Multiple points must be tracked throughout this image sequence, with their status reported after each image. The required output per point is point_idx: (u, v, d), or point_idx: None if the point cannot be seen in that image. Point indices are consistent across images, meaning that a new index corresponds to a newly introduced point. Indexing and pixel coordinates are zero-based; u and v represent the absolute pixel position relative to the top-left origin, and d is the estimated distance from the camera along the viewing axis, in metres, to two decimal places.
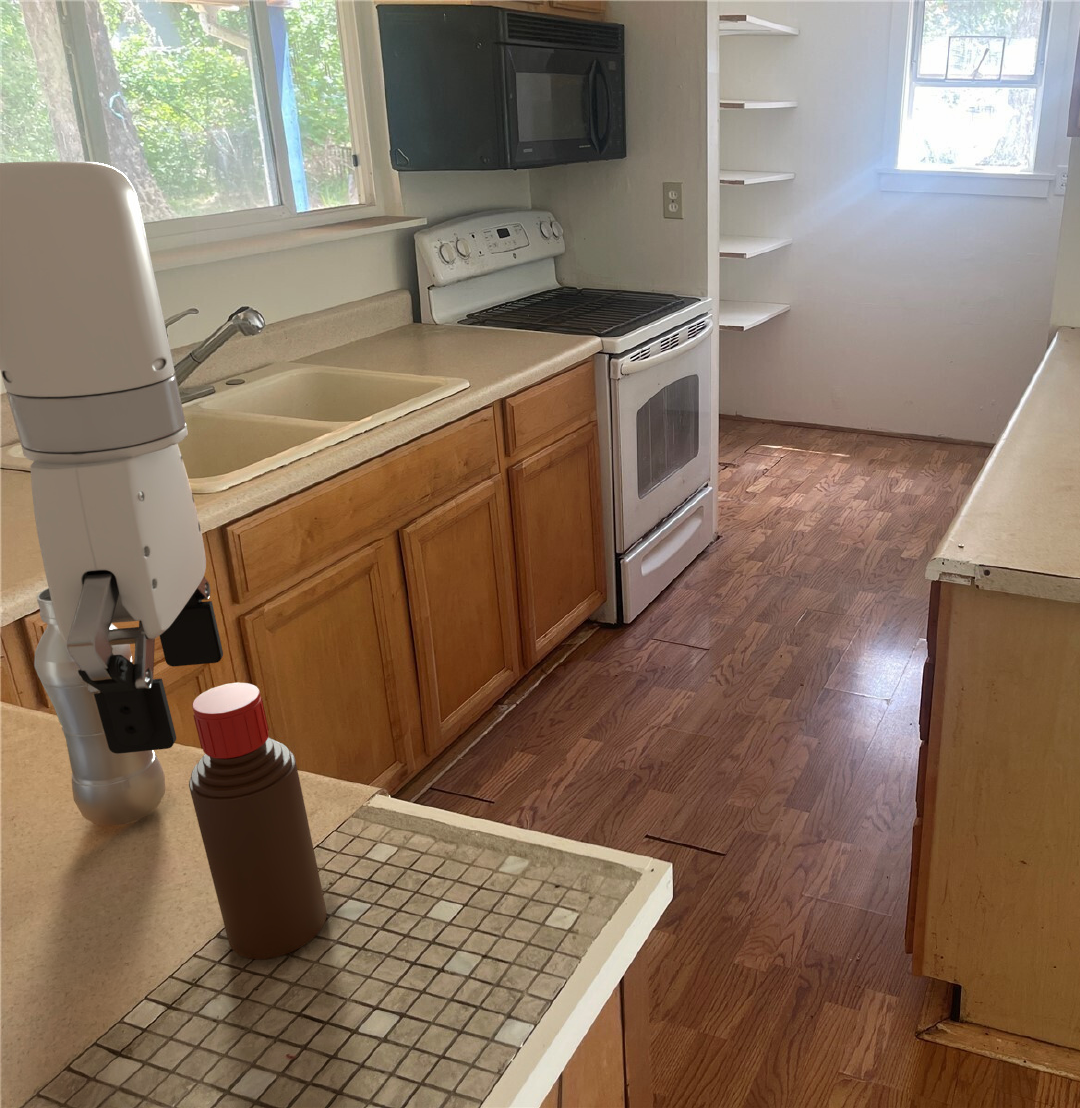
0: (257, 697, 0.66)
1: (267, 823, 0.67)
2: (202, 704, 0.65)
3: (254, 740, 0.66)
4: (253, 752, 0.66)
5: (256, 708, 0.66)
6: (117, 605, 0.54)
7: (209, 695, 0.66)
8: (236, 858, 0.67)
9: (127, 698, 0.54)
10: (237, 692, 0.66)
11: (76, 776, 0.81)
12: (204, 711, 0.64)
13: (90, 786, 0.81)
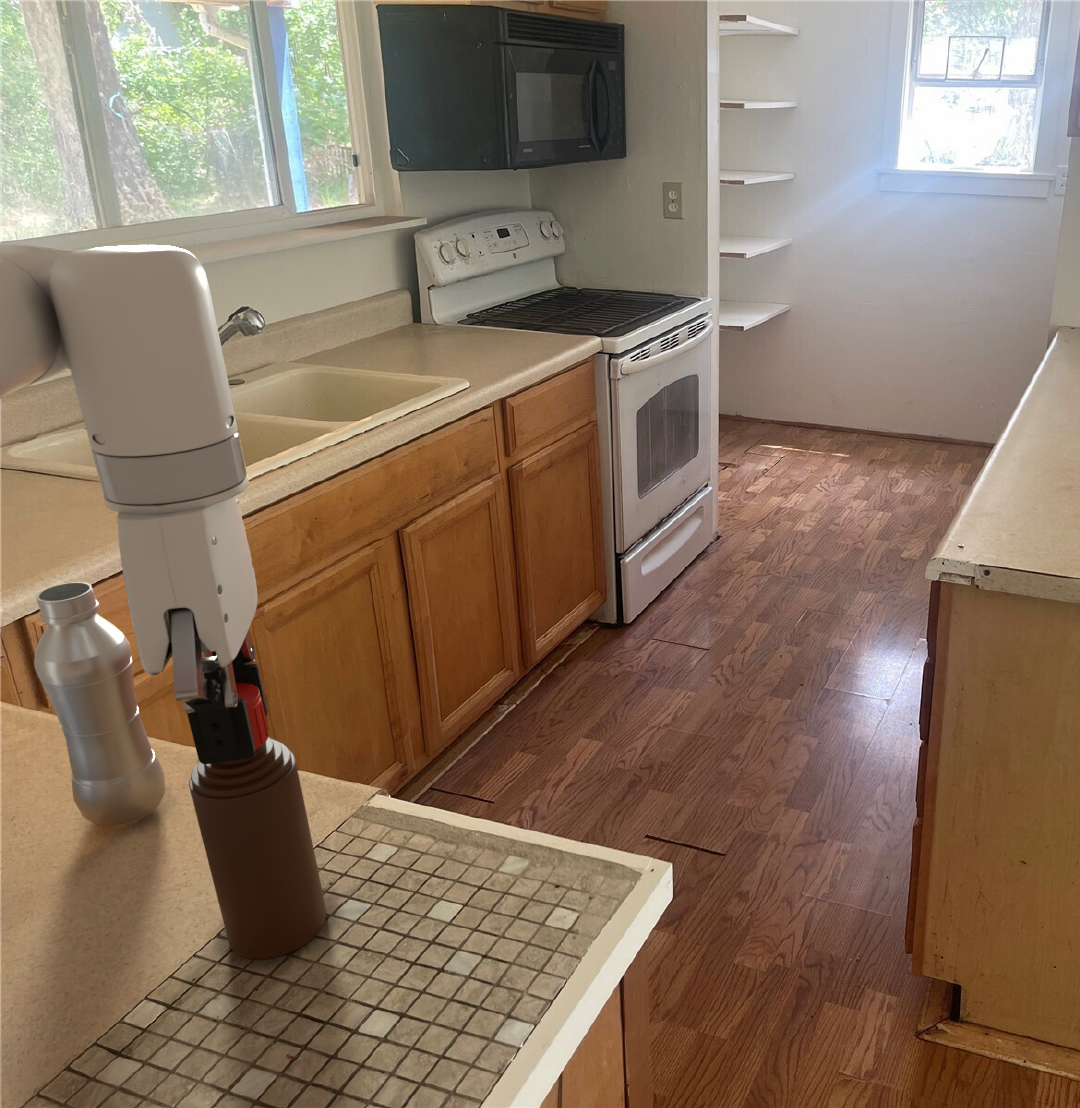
0: (257, 697, 0.66)
1: (267, 823, 0.67)
2: None
3: (254, 740, 0.66)
4: None
5: (256, 708, 0.66)
6: None
7: None
8: (236, 858, 0.67)
9: (217, 716, 0.63)
10: (237, 692, 0.66)
11: (76, 776, 0.81)
12: None
13: (90, 786, 0.81)
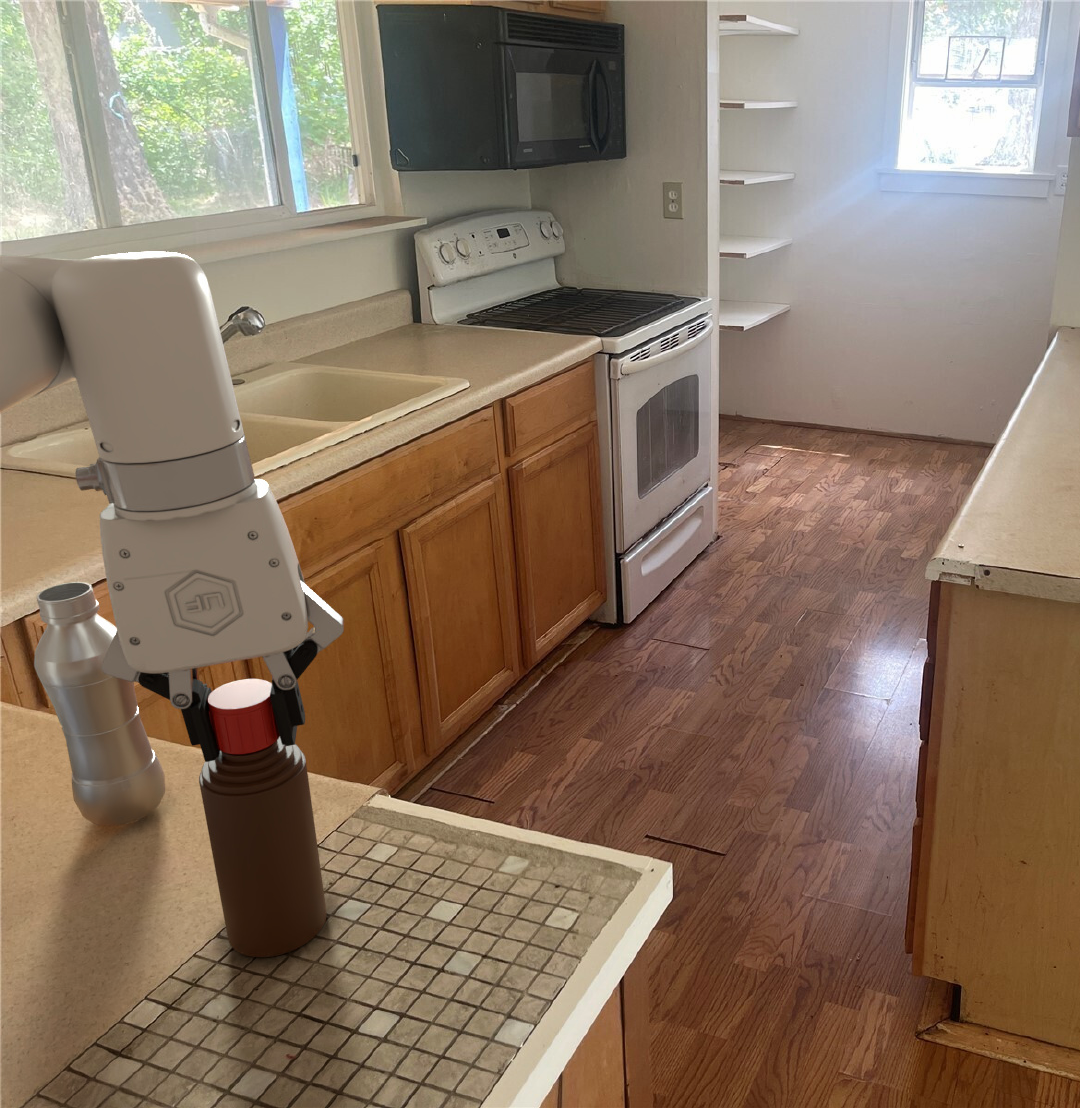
0: (250, 679, 0.68)
1: (275, 822, 0.67)
2: (247, 702, 0.65)
3: None
4: (265, 750, 0.67)
5: None
6: None
7: (229, 703, 0.65)
8: (243, 855, 0.67)
9: (296, 682, 0.67)
10: (232, 690, 0.66)
11: (76, 776, 0.81)
12: (265, 697, 0.66)
13: (90, 786, 0.81)
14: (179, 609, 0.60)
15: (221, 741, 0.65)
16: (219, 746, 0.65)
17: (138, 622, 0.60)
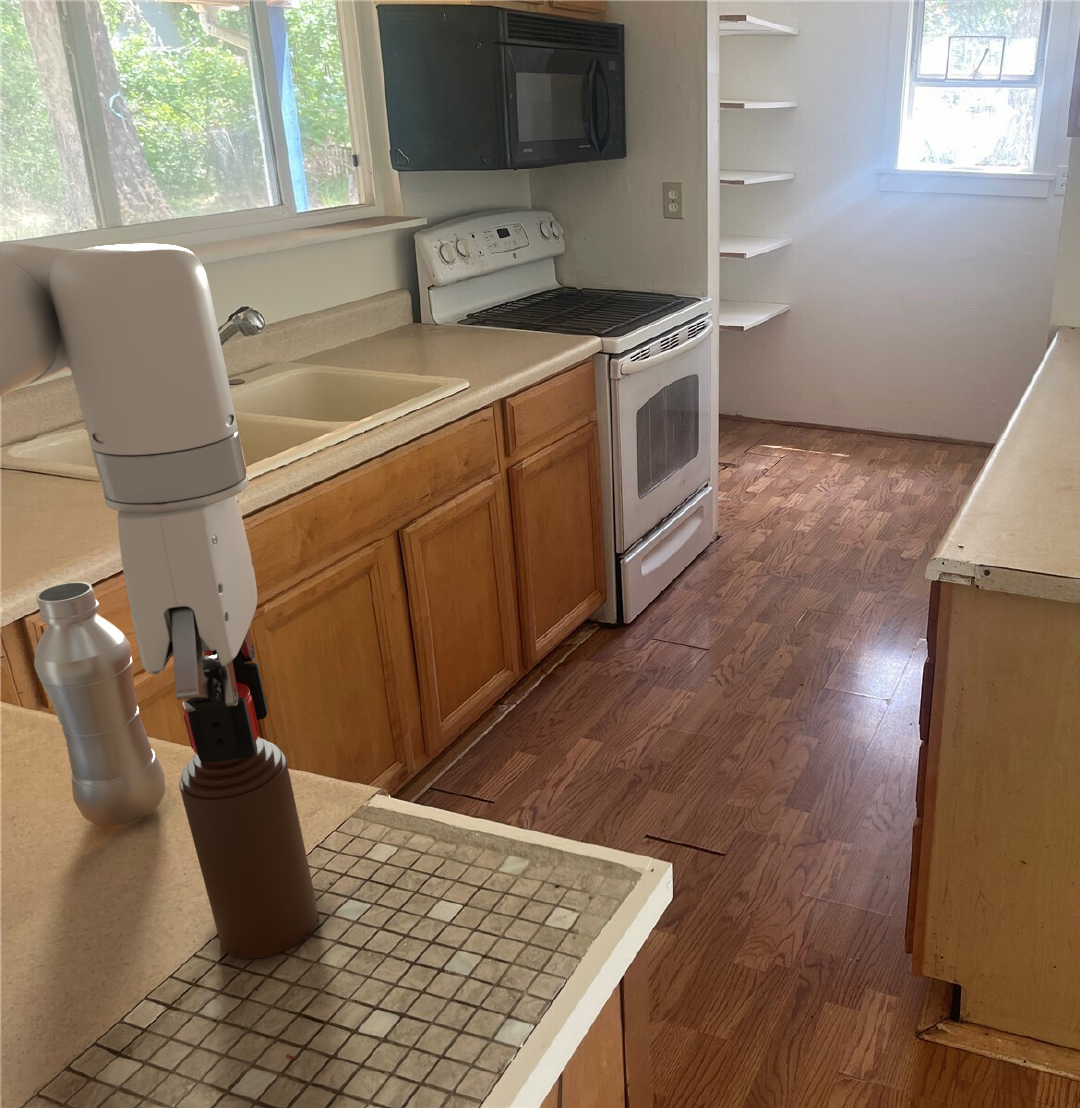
0: None
1: (257, 824, 0.67)
2: None
3: None
4: None
5: None
6: None
7: None
8: (227, 858, 0.67)
9: (217, 715, 0.63)
10: None
11: (76, 776, 0.81)
12: None
13: (90, 786, 0.81)
14: None
15: None
16: (196, 750, 0.65)
17: None
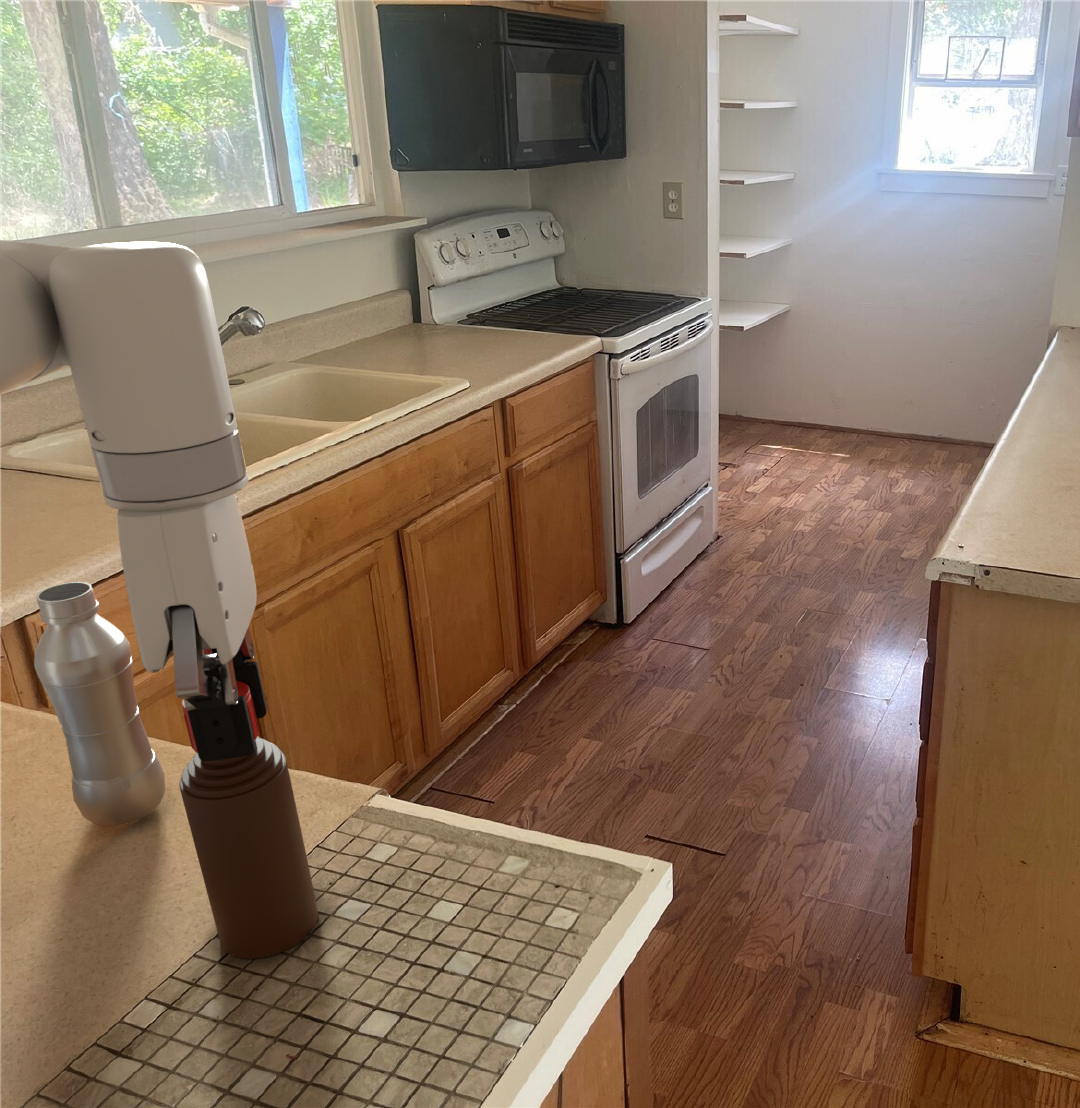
0: (183, 700, 0.65)
1: (257, 824, 0.67)
2: (238, 687, 0.67)
3: None
4: None
5: None
6: None
7: None
8: (227, 858, 0.67)
9: (217, 713, 0.63)
10: None
11: (76, 776, 0.81)
12: None
13: (90, 786, 0.81)
14: None
15: None
16: None
17: None
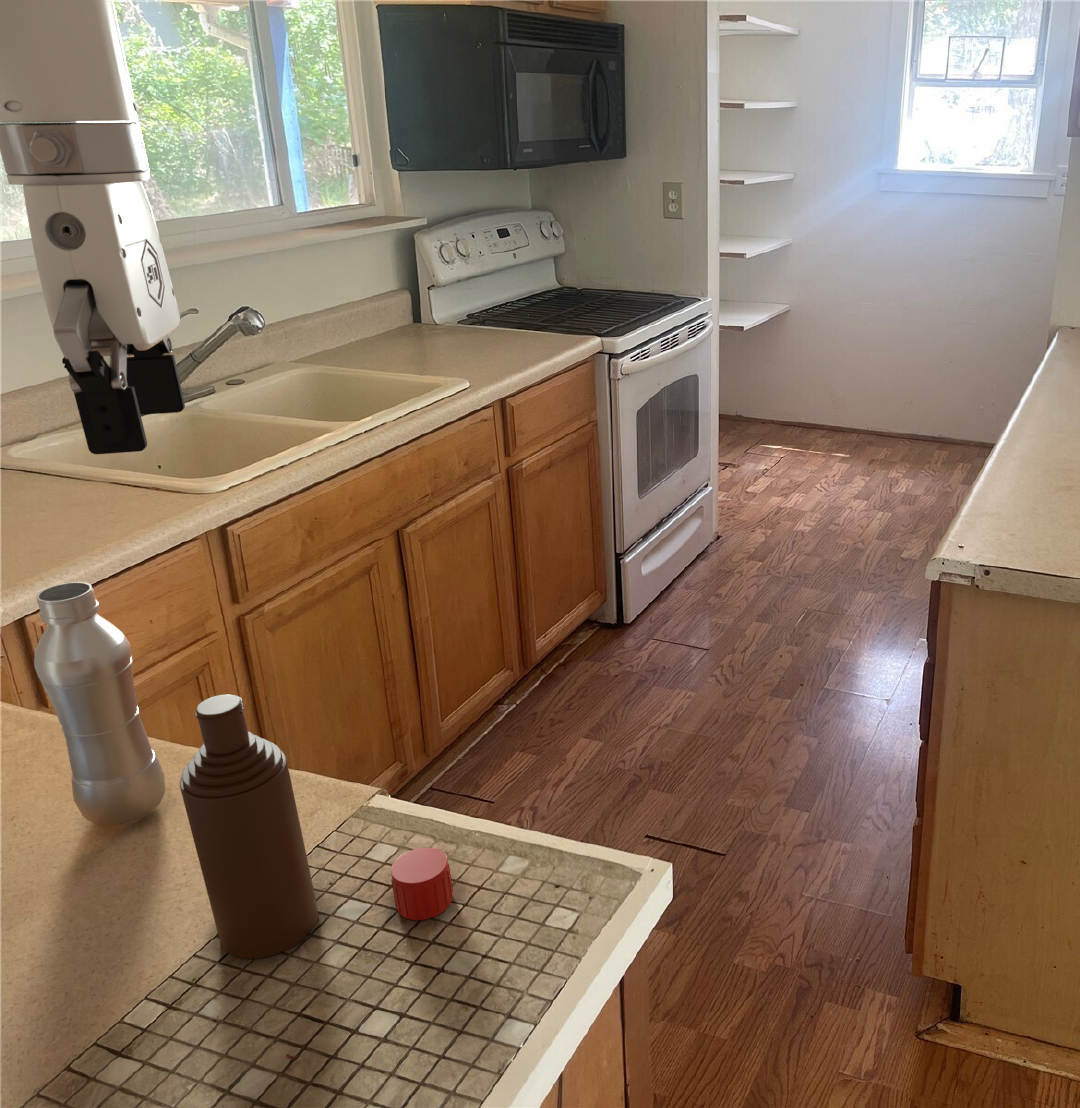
0: (418, 849, 0.76)
1: (257, 823, 0.67)
2: (430, 873, 0.73)
3: None
4: (244, 752, 0.66)
5: None
6: None
7: (414, 876, 0.73)
8: (227, 857, 0.67)
9: None
10: (409, 862, 0.74)
11: (76, 776, 0.81)
12: (443, 865, 0.74)
13: (90, 786, 0.81)
14: (147, 279, 0.65)
15: (408, 910, 0.73)
16: (406, 915, 0.73)
17: (137, 292, 0.63)
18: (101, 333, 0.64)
